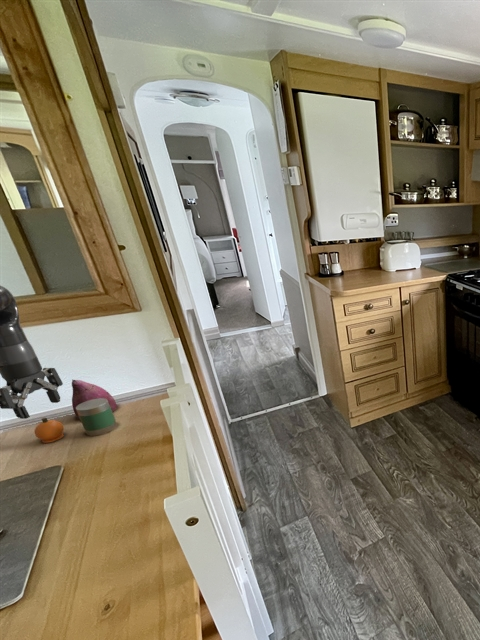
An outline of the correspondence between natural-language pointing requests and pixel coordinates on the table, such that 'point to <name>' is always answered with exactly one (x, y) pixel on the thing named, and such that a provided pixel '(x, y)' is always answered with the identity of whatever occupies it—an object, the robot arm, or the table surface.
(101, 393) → the vegetable
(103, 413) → the tin
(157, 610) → the table surface
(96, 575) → the table surface
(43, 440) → the pumpkin
